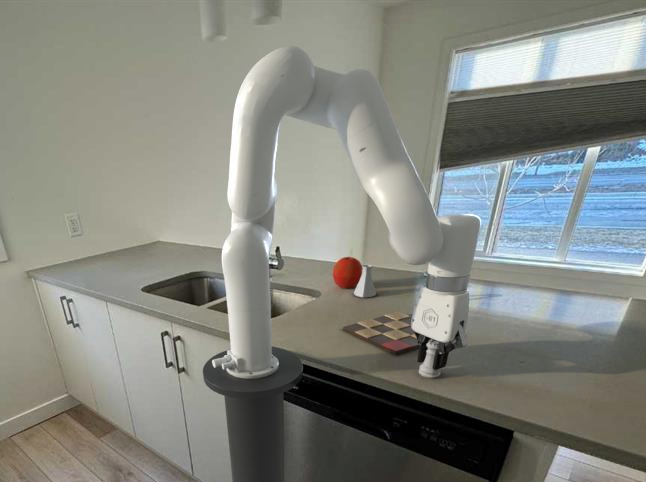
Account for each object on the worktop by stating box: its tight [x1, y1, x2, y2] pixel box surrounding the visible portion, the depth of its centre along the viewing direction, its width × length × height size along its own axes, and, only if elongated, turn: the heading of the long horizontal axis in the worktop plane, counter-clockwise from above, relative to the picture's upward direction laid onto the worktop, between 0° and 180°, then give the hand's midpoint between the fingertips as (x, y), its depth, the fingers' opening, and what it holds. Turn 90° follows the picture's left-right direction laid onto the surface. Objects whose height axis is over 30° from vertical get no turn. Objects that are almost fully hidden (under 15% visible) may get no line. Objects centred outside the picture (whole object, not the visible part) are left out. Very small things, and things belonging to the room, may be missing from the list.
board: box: [342, 311, 439, 356], centre depth 110 cm, size 20×20×1 cm
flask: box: [353, 264, 377, 298], centre depth 138 cm, size 7×7×10 cm
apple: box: [332, 255, 363, 289], centre depth 147 cm, size 10×10×12 cm
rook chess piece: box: [418, 339, 442, 379], centre depth 88 cm, size 4×4×8 cm
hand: (431, 363), depth 89 cm, fingers closed on rook chess piece, 3 cm apart
